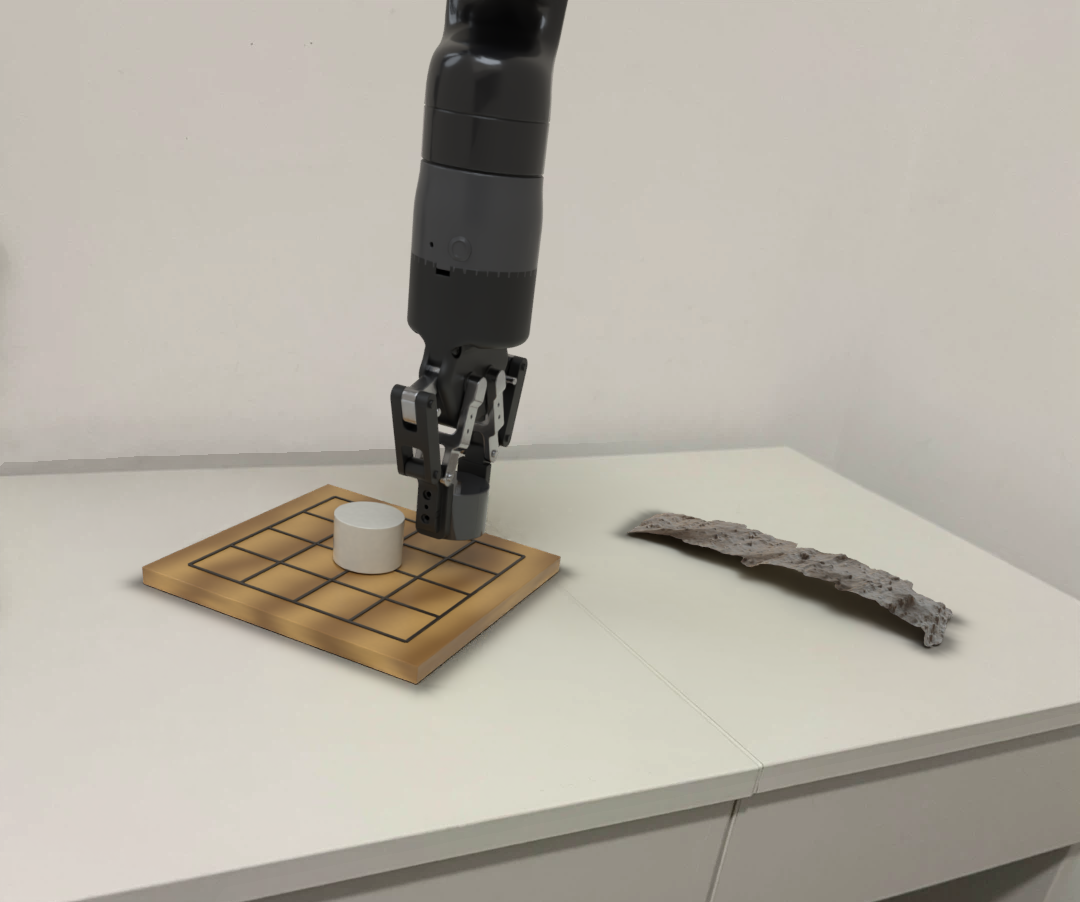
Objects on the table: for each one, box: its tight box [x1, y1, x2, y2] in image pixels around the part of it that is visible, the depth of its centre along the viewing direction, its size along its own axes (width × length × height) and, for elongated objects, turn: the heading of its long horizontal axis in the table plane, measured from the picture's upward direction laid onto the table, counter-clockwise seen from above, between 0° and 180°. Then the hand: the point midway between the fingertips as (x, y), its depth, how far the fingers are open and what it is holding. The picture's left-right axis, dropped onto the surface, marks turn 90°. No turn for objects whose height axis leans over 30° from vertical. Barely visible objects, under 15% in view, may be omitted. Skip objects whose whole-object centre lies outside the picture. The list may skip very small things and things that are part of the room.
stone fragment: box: [626, 512, 954, 648], centre depth 80 cm, size 25×3×10 cm
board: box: [141, 483, 562, 685], centre depth 71 cm, size 20×20×1 cm
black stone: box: [442, 470, 491, 541], centre depth 71 cm, size 5×5×3 cm
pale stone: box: [333, 502, 405, 574], centre depth 70 cm, size 5×5×3 cm
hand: (451, 522), depth 71 cm, fingers closed on black stone, 4 cm apart
